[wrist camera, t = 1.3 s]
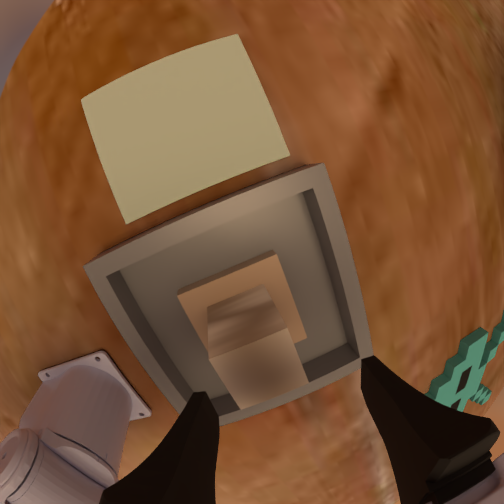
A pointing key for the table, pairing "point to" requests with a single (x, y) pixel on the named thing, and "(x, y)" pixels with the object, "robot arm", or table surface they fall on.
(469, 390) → the alien figure
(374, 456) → the table surface
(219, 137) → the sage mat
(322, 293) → the box
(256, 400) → the brown block
